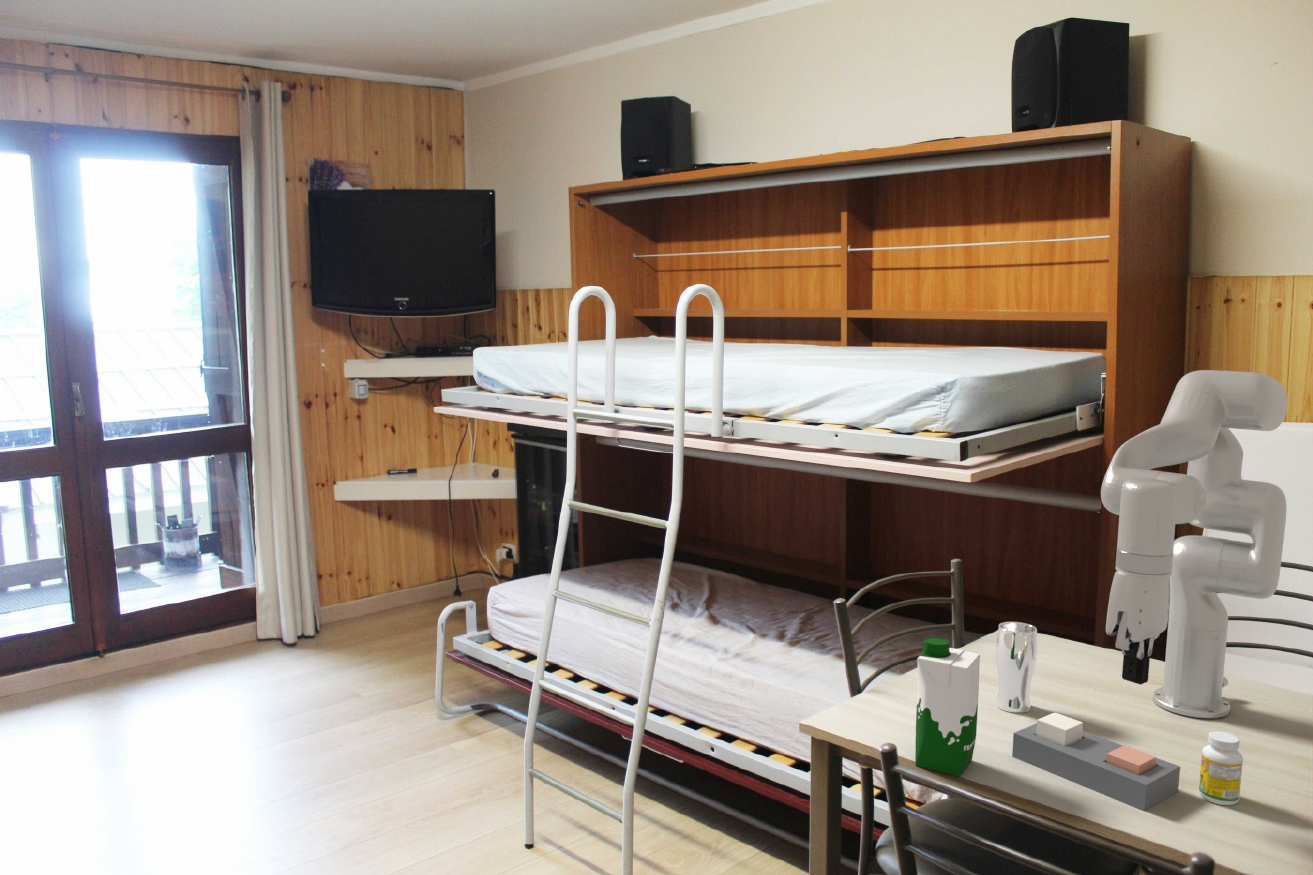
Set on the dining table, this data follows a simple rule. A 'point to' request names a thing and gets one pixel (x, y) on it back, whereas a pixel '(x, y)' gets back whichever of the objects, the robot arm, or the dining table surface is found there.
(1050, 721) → the off-white key
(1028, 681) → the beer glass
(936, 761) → the milk carton
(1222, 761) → the supplement bottle
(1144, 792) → the key panel
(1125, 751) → the terracotta key
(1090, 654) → the dining table surface
